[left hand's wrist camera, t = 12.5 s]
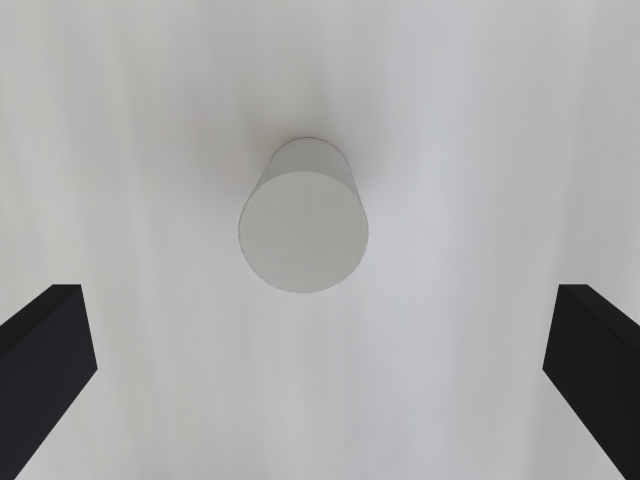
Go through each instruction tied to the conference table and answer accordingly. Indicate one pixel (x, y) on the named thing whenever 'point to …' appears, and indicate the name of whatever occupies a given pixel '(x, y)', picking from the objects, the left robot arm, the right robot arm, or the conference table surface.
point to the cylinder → (304, 219)
